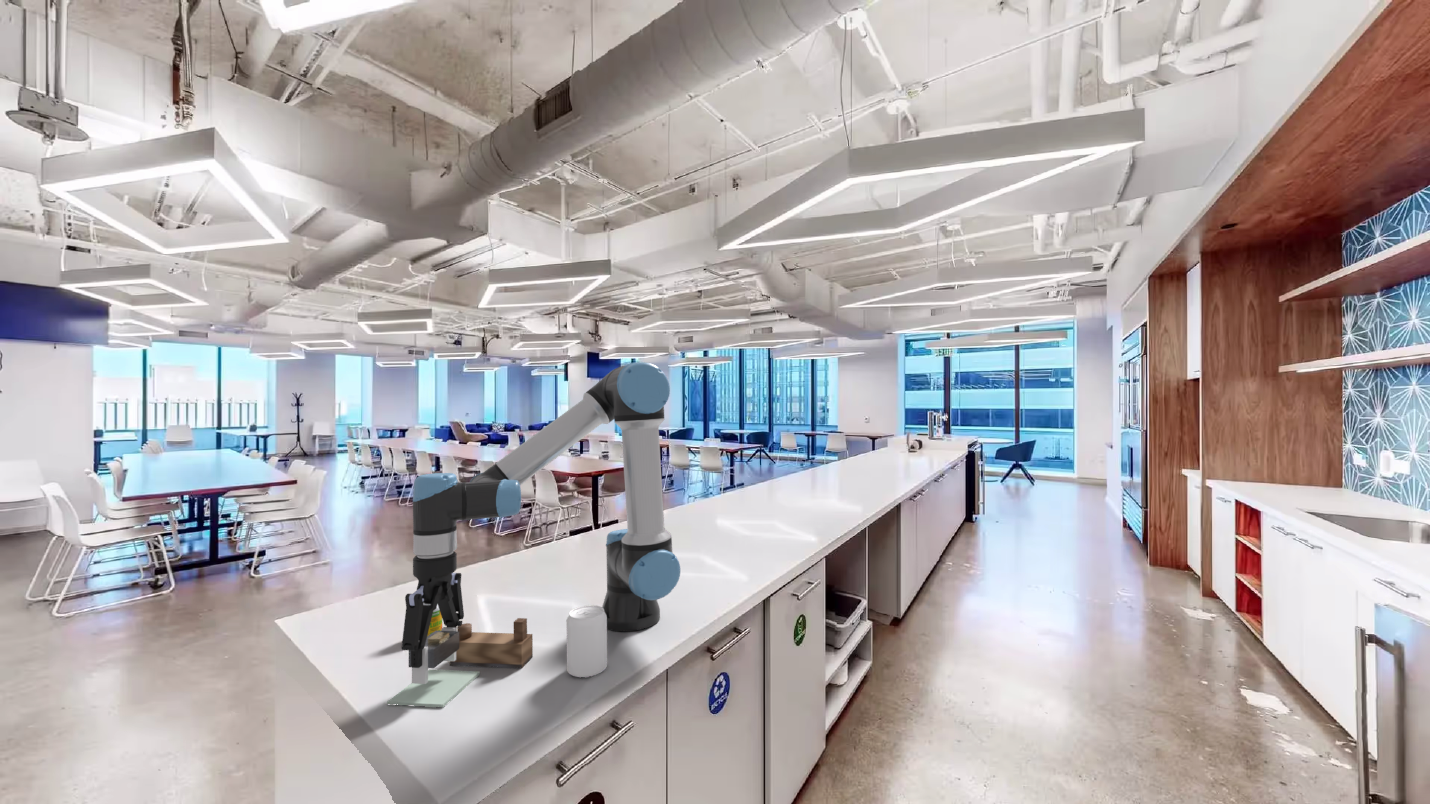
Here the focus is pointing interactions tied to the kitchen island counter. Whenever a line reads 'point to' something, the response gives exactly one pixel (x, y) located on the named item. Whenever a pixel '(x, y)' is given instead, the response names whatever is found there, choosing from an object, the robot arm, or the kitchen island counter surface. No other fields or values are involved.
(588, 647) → the beverage can
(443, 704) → the mat
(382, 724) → the kitchen island counter surface
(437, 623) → the supplement bottle
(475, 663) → the hand plane
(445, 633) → the dark grey rectangular block
